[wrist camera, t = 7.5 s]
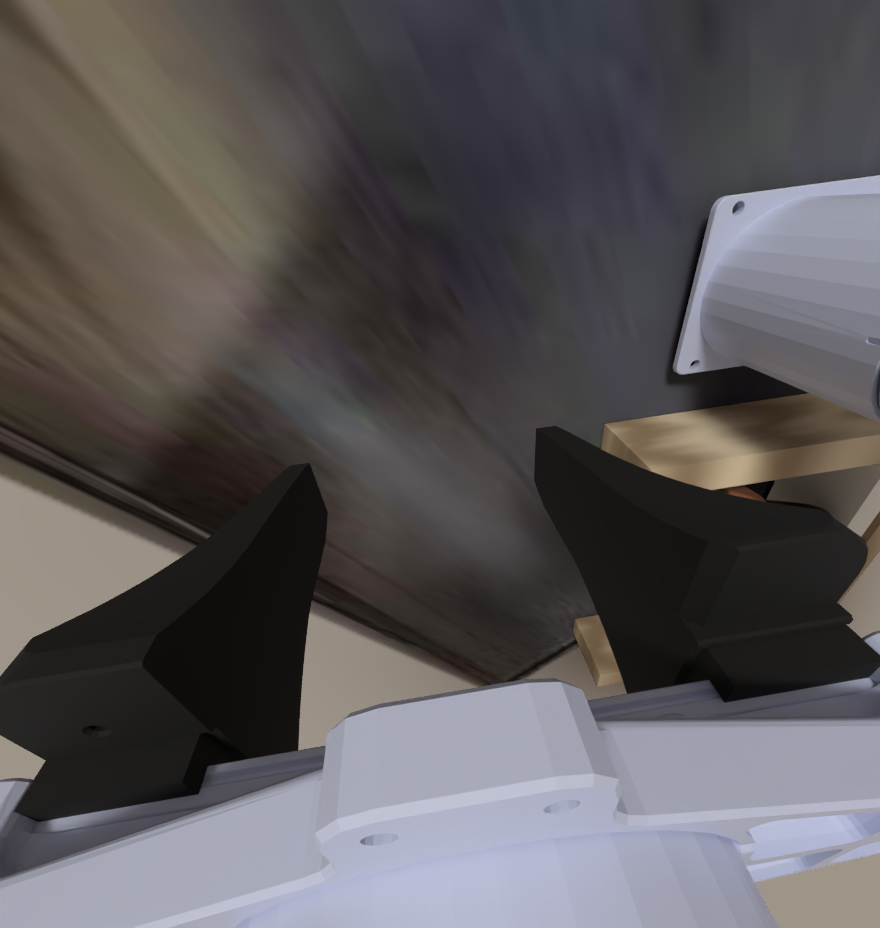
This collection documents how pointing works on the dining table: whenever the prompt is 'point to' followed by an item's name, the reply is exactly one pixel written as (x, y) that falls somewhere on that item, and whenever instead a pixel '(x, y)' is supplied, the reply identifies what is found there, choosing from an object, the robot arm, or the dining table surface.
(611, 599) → the robot arm
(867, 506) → the pusher plate
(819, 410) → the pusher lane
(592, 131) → the dining table surface
